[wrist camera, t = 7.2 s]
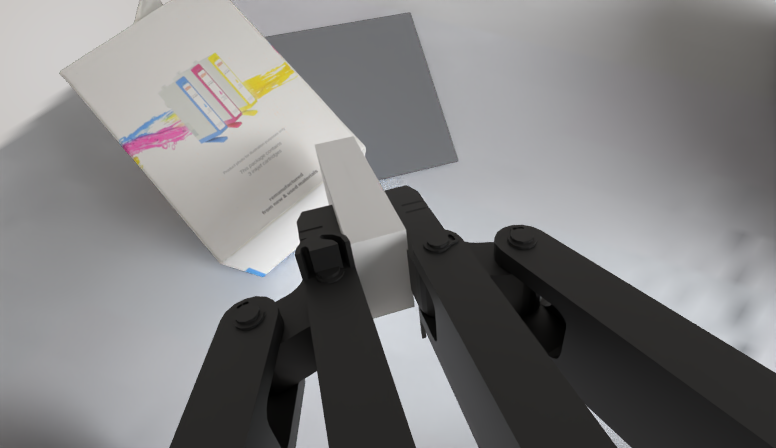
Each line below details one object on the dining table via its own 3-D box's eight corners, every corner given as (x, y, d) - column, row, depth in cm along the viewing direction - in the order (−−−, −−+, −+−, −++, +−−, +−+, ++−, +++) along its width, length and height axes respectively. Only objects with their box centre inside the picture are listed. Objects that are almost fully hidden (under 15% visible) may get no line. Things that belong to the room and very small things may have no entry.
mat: (409, 15, 30) (410, 12, 30) (457, 161, 28) (458, 160, 28) (160, 58, 27) (158, 55, 27) (193, 224, 25) (192, 223, 25)
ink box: (263, 280, 25) (131, 127, 26) (364, 194, 27) (235, 54, 28) (218, 266, 17) (27, 42, 18) (369, 143, 18) (185, -54, 19)
